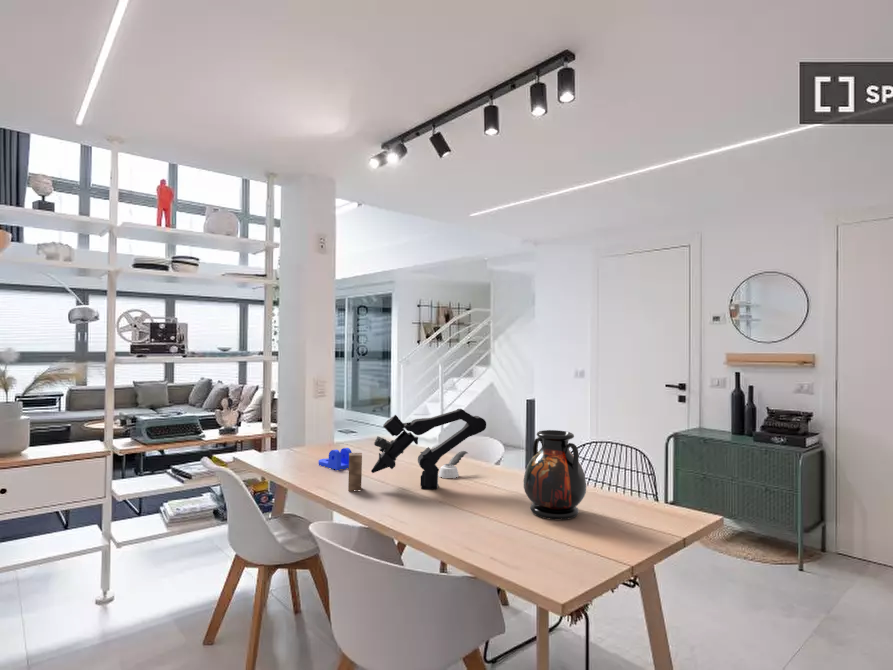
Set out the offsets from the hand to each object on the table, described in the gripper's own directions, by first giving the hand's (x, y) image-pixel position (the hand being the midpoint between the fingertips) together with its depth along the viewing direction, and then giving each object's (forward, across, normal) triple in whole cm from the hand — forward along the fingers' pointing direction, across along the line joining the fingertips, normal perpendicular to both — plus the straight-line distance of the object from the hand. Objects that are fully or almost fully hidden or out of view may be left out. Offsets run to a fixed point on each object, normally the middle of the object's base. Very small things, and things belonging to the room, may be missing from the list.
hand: (371, 472), depth 208 cm
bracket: (+17, -42, -7) cm, 46 cm away
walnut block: (+9, 0, 0) cm, 9 cm away
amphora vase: (-39, +37, +49) cm, 73 cm away
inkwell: (-22, -21, +31) cm, 43 cm away
